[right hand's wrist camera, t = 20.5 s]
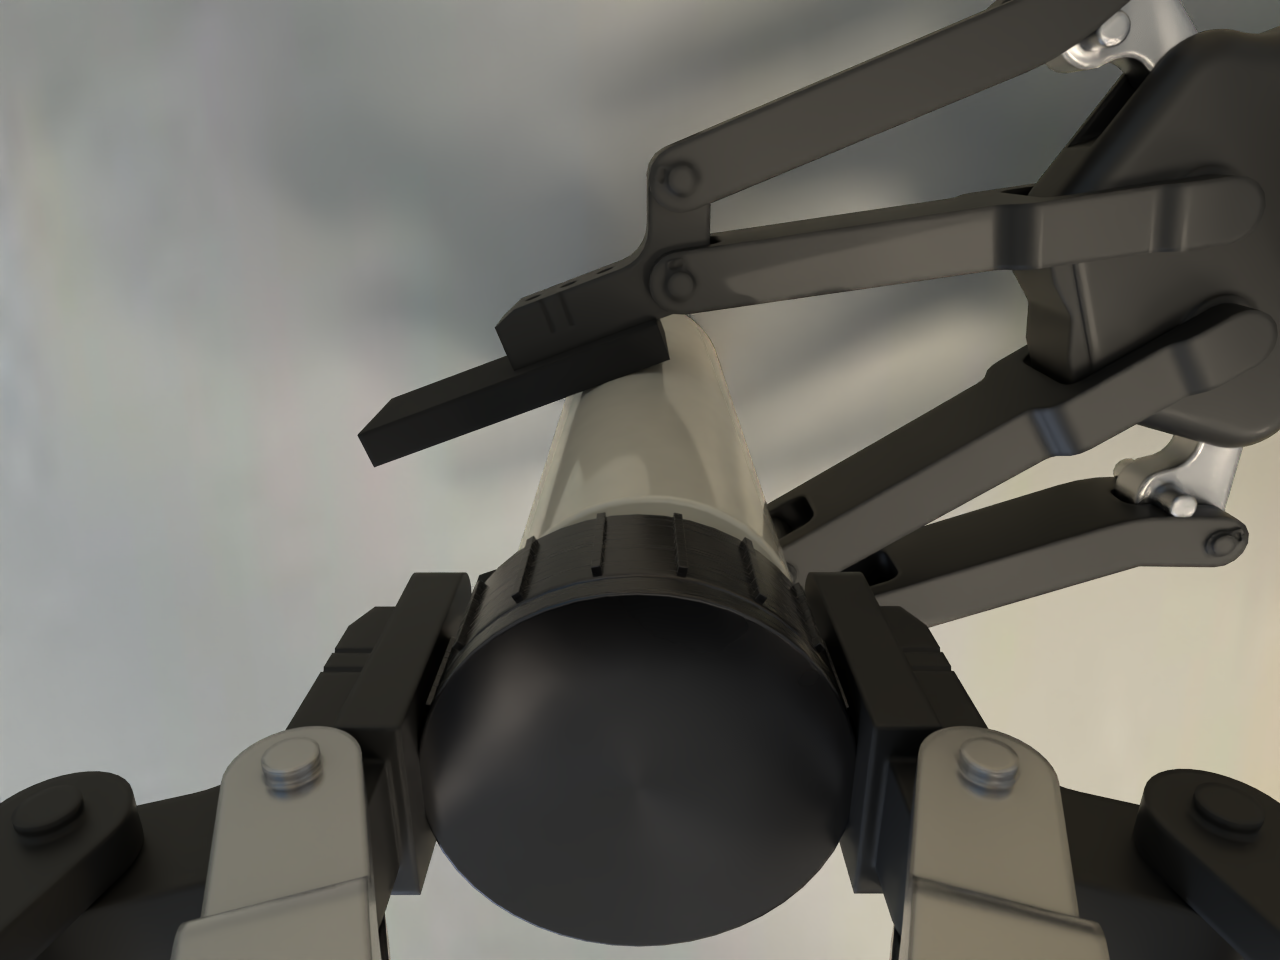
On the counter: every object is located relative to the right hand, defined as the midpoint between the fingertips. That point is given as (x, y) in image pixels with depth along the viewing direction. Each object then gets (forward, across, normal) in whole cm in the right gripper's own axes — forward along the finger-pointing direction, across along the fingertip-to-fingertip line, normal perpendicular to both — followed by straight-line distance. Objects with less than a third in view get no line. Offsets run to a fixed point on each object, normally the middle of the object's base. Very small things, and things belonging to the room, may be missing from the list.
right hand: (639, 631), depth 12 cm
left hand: (+7, -5, -2) cm, 9 cm away
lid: (-3, 0, 0) cm, 3 cm away
